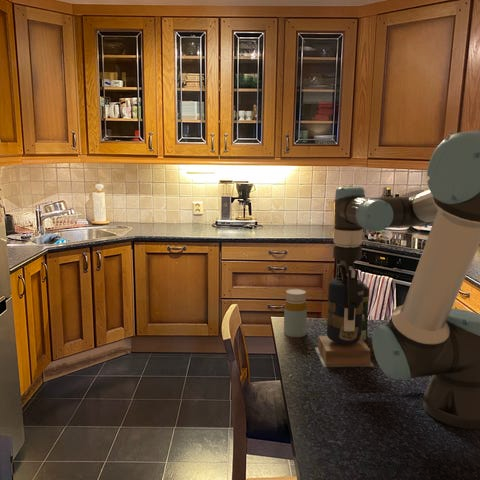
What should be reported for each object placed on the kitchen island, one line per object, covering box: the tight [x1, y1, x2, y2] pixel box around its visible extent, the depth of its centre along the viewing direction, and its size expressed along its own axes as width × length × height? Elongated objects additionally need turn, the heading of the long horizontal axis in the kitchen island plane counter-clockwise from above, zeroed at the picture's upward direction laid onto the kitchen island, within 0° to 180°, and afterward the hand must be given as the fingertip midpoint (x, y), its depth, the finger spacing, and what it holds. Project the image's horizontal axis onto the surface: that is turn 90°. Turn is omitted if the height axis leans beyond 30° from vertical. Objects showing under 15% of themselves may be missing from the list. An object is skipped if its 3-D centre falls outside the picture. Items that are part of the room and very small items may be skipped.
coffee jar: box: [361, 282, 370, 341], centre depth 150 cm, size 10×8×19 cm
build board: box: [314, 346, 375, 368], centre depth 135 cm, size 18×15×1 cm
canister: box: [326, 277, 365, 344], centre depth 133 cm, size 10×10×18 cm
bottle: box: [283, 288, 308, 338], centre depth 152 cm, size 7×7×15 cm
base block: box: [317, 335, 372, 365], centre depth 135 cm, size 11×12×4 cm
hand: (344, 323), depth 134 cm, fingers closed on canister, 9 cm apart
